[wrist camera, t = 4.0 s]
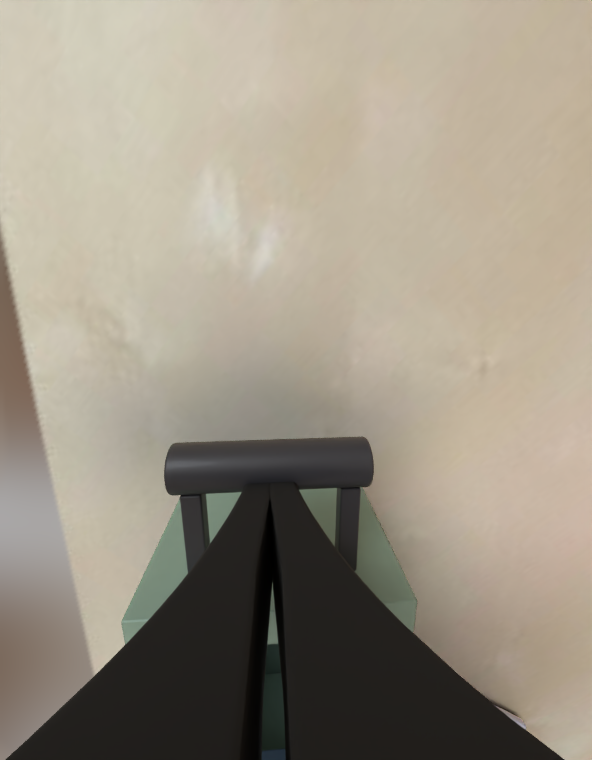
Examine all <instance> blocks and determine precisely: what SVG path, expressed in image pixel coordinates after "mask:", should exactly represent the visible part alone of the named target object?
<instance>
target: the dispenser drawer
mask: <svg viewBox="0 0 592 760" xmlns="http://www.w3.org/2000/svg"><path fill="white" fill-rule="evenodd" d="M373 473H374V463H373V455H372V450H371V447H370V444H369V442H368V440H367V439H366V438H365V437H337V438H307V439H276V440H246V441H215V442H185V443H174V444H172V445H171V447H170V448H169V450H168V453H167V457H166V461H165V469H164V479H165V486H166V490H167V492H168V493H169V494H170V495H181V496H180V499H179V502H178V504H177V506H176V508H175V510H174V512H173V514H172V516H171V518H170V521H169V523H168V525H167V527H166V529H165V531H164V533H163V535H162V537H161V539H160V542H159V544H158V546H157V548H156V550H155V552H154V554H153V556H152V558H151V561H150V563H149V565H148V567H147V569H146V571H145V573H144V575H143V577H142V579H141V582H140V584H139V586H138V588H137V590H136V592H135V594H134V596H133V598H132V601H131V603H130V605H129V607H128V609H127V611H126V613H125V615H124V617H123V619H122V623H121V624H122V629H123V635H124V640H125V645H126V643H127V642H128V641H129V640H130V639H131V638H132V637H133V636H134V635H135V634H136V633H137V632H138V631H139V629H140V628H141V627H142V626H143V625H144V624H145V623H146V622H147V621H148V620H149V619H150V618H151V617H152V616H153V614H154V613H155V612H156V611H157V610H158V609H159V608H160V606H161V605H162V604H163V603H164V602H165V601H166V599H167V598H168V597H169V596H170V595H171V594H172V592H173V591H174V590H175V589H176V588H177V586H178V585H179V584H180V583H181V581H182V580H183V579H184V578H185V576H186V575H187V574H188V573H189V571H190V570H191V569H192V568H193V566H194V565H195V563H196V562H197V561H198V559H199V558H200V557H201V555H202V554H203V553H204V551H205V550H206V548H207V547H208V546H209V544H210V543H211V542H212V540H213V539H214V537H215V536H216V534H217V533H218V531H219V530H220V528H221V526H222V525H223V523H224V522H225V520H226V519H227V517H228V516H229V514H230V512H231V511H232V509H233V507H234V505H235V504H236V502H237V500H238V498H239V496H240V494H241V492H242V490H243V488H244V487H245V486H246V485H247V484H250V483H273V482H294V483H295V484H297V486H298V489H299V491H300V493H301V495H302V497H303V499H304V501H305V502H306V504H307V506H308V507H309V509H310V511H311V513H312V514H313V516H314V517H315V519H316V520H317V522H318V523H319V525H320V526H321V528H322V529H323V531H324V532H325V534H326V535H327V537H328V538H329V539H330V541H331V542H332V543H333V545H334V546H335V547H336V549H337V550H338V551H339V553H340V554H341V555H342V556H343V558H344V559H345V560H346V562H347V563H348V564H349V565H350V566H351V568H352V569H353V570H354V571H355V573H356V574H357V575H358V576H359V577H360V578H361V580H362V581H363V582H364V583H365V584H366V585H367V586H368V587H369V588H370V590H371V591H372V592H373V593H374V594H375V595H376V596H377V597H378V598H379V599H380V600H381V601H382V602H383V603H384V605H385V606H386V607H387V608H388V609H389V610H390V611H391V612H392V613H393V614H394V615H395V616H396V617H397V618H398V619H399V620H400V621H401V622H402V623H403V624H404V625H405V626H406V627H407V628H408V629H409V630H411V631H412V632H414V624H415V616H416V607H417V599H416V597H415V595H414V593H413V591H412V589H411V587H410V585H409V583H408V581H407V579H406V577H405V574H404V572H403V570H402V568H401V566H400V564H399V562H398V560H397V558H396V556H395V554H394V552H393V550H392V548H391V546H390V544H389V542H388V539H387V537H386V535H385V533H384V531H383V529H382V527H381V525H380V523H379V521H378V519H377V517H376V515H375V513H374V511H373V509H372V507H371V504H370V502H369V500H368V498H367V496H366V494H365V492H364V490H363V488H362V487H368V486H370V485H371V483H372V480H373ZM282 748H285V723H284V704H283V689H282V678H281V667H280V657H279V647H278V636H277V626H276V615H275V605H274V594H273V583H272V594H271V606H270V619H269V631H268V643H267V656H266V668H265V680H264V694H263V714H262V751H263V750H273V749H282Z"/></svg>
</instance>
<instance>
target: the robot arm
mask: <svg viewBox="0 0 592 760" xmlns="http://www.w3.org/2000/svg"><path fill="white" fill-rule="evenodd" d="M272 583H273V594H274V605H275V615H276V626H277V636H278V647H279V657H280V667H281V678H282V689H283V704H284V723H285V757H286V760H564V759H563V758H561V757H560V756H559V755H558V754H556V753H555V752H554V751H552V750H551V749H550V748H548V747H547V746H546V745H545V744H543V743H542V742H541V741H539V740H538V739H537V738H535V737H534V736H533V735H532V734H530V733H529V732H528V731H526V725H525V723H524V722H523V720H522V719H521V718H519V717H517V716H515V715H513V714H511V713H509V712H507V711H505V710H503V709H501V708H499V707H497V706H495V705H494V704H492V703H491V702H490V701H489V700H488V699H487V698H485V697H484V696H483V695H482V694H481V693H479V692H478V691H477V690H476V689H475V688H474V687H472V686H471V685H470V684H469V683H468V682H466V681H465V680H464V679H463V678H462V677H461V676H459V675H458V674H457V673H456V672H455V671H454V670H453V669H452V668H451V667H450V666H448V665H447V664H446V663H445V662H444V661H443V660H442V659H441V658H440V657H439V656H438V655H437V654H435V653H434V652H433V651H432V650H431V649H430V648H429V647H428V646H427V645H426V644H425V643H424V642H422V641H421V640H420V639H419V638H418V637H417V636H416V635H415V634H414V633H413V632H412V631H411V630H409V629H408V628H407V627H406V626H405V625H404V624H403V623H402V622H401V621H400V620H399V619H398V618H397V617H396V616H395V615H394V614H393V613H392V612H391V611H390V610H389V609H388V608H387V607H386V606H385V605H384V603H383V602H382V601H381V600H380V599H379V598H378V597H377V596H376V595H375V594H374V593H373V592H372V591H371V590H370V588H369V587H368V586H367V585H366V584H365V583H364V582H363V581H362V580H361V578H360V577H359V576H358V575H357V574H356V573H355V571H354V570H353V569H352V568H351V566H350V565H349V564H348V563H347V562H346V560H345V559H344V558H343V556H342V555H341V554H340V553H339V551H338V550H337V549H336V547H335V546H334V545H333V543H332V542H331V541H330V539H329V538H328V537H327V535H326V534H325V532H324V531H323V529H322V528H321V526H320V525H319V523H318V522H317V520H316V519H315V517H314V516H313V514H312V513H311V511H310V509H309V507H308V506H307V504H306V502H305V501H304V499H303V497H302V495H301V493H300V491H299V489H298V486H297V484H295V483H294V482H273V483H250V484H247V485H246V486H245V487H244V488H243V490H242V492H241V494H240V496H239V498H238V500H237V502H236V504H235V505H234V507H233V509H232V511H231V512H230V514H229V516H228V517H227V519H226V520H225V522H224V523H223V525H222V526H221V528H220V530H219V531H218V533H217V534H216V536H215V537H214V539H213V540H212V542H211V543H210V544H209V546H208V547H207V548H206V550H205V551H204V553H203V554H202V555H201V557H200V558H199V559H198V561H197V562H196V563H195V565H194V566H193V568H192V569H191V570H190V571H189V573H188V574H187V575H186V576H185V578H184V579H183V580H182V581H181V583H180V584H179V585H178V586H177V588H176V589H175V590H174V591H173V592H172V594H171V595H170V596H169V597H168V598H167V599H166V601H165V602H164V603H163V604H162V605H161V606H160V608H159V609H158V610H157V611H156V612H155V613H154V614H153V616H152V617H151V618H150V619H149V620H148V621H147V622H146V623H145V624H144V625H143V626H142V627H141V628H140V629H139V631H138V632H137V633H136V634H135V635H134V636H133V637H132V638H131V639H130V640H129V641H128V642H127V643H126V645H125V646H124V647H123V648H122V649H121V650H120V651H119V652H118V653H117V654H116V655H115V656H114V657H113V658H112V659H111V660H110V661H109V662H108V663H107V664H106V665H105V666H104V667H103V668H102V669H101V670H100V671H99V672H98V673H97V674H96V675H95V676H94V677H93V678H92V679H91V680H90V681H89V682H88V683H87V684H86V685H85V686H84V687H83V688H82V689H80V690H79V691H78V692H77V693H76V694H75V695H74V696H73V697H72V698H71V699H70V700H69V701H68V702H67V703H66V704H65V705H63V706H62V707H61V708H60V709H59V710H58V711H57V712H56V713H55V714H54V715H53V716H52V717H51V718H50V719H49V720H48V721H47V722H46V723H44V724H43V725H42V726H41V727H40V728H39V729H38V730H37V731H36V732H35V733H34V734H33V735H32V736H31V737H30V738H29V739H28V740H27V741H25V742H24V743H23V744H22V745H21V746H20V747H19V748H18V749H17V750H16V751H14V752H13V753H12V754H11V755H10V756H9V757H8V758H7V759H6V760H262V714H263V694H264V680H265V668H266V656H267V643H268V631H269V619H270V606H271V594H272Z"/></svg>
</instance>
